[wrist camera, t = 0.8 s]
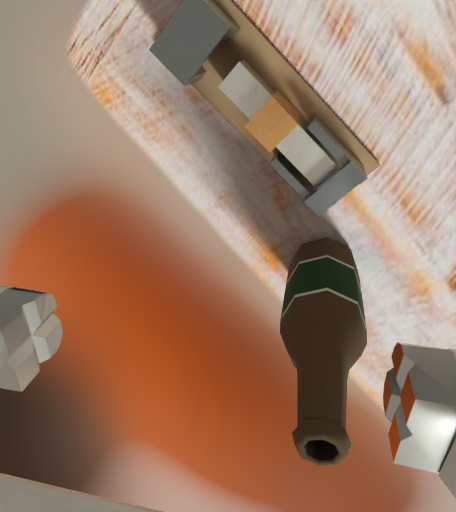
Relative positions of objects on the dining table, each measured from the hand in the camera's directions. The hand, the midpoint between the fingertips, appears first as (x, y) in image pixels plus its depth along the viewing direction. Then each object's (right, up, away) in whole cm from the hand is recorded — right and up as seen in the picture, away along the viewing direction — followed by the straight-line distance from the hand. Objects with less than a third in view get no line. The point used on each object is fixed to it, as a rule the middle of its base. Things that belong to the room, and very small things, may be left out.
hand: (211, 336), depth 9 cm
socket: (-2, +22, +28) cm, 35 cm away
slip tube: (+6, +14, +29) cm, 33 cm away
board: (+5, +17, +29) cm, 34 cm away
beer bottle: (+12, +1, +37) cm, 38 cm away
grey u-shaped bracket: (+9, +11, +30) cm, 33 cm away
